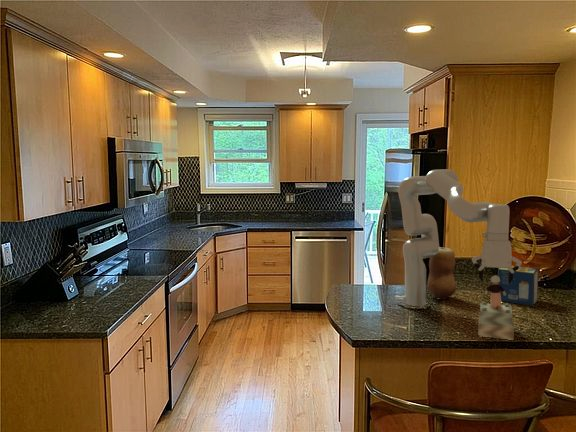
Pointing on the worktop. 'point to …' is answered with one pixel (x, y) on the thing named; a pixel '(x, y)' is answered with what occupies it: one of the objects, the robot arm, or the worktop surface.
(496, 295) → the grandmother figurine
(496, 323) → the grey studded block
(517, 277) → the protein box
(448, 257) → the butternut squash
